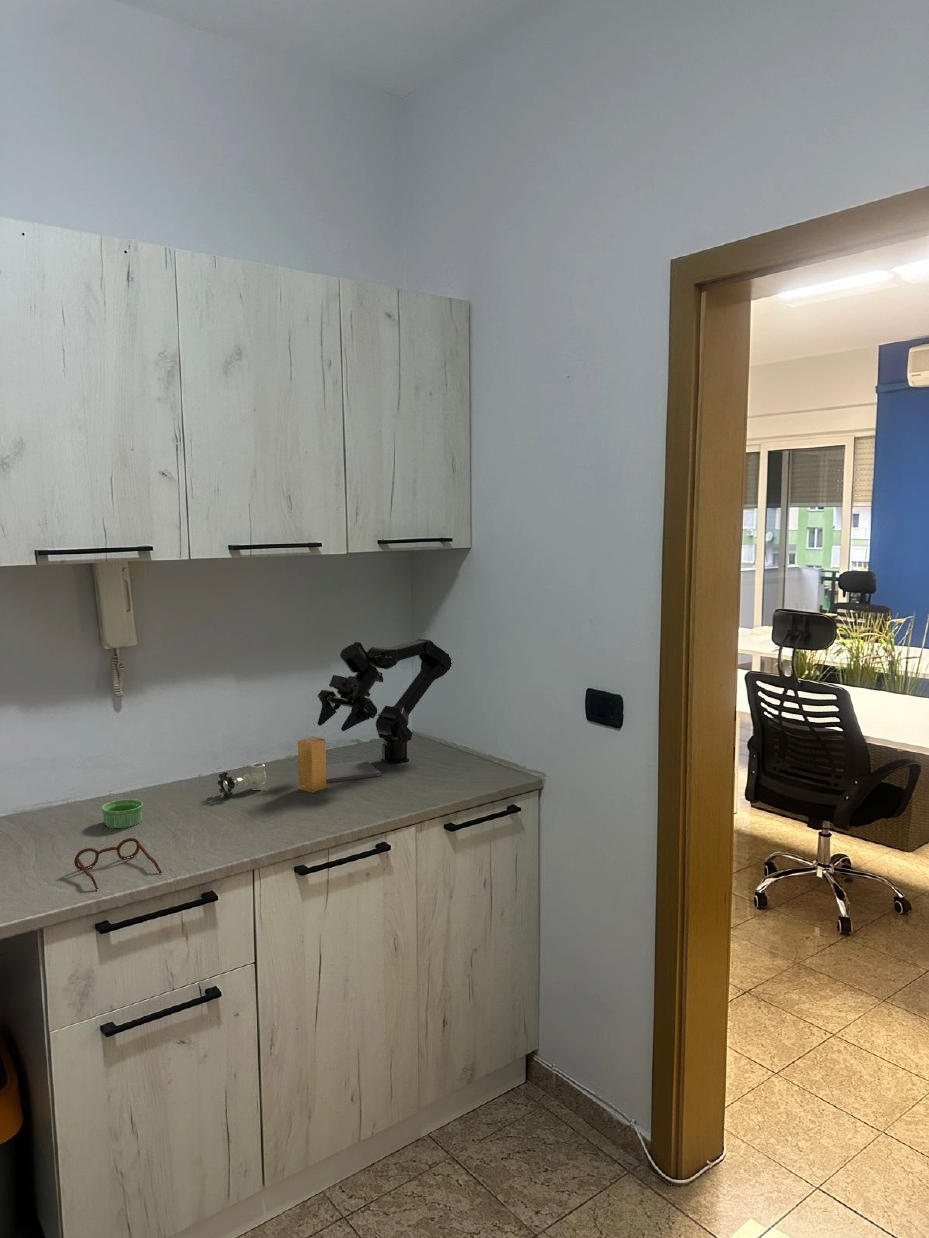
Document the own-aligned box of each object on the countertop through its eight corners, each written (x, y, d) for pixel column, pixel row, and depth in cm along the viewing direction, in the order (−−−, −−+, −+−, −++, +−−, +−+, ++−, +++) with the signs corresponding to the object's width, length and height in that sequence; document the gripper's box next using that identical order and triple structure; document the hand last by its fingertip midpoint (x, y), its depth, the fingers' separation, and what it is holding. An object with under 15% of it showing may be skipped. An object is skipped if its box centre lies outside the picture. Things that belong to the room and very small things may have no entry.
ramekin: (98, 831, 202) (98, 812, 202) (106, 818, 211) (105, 800, 210) (140, 828, 204) (139, 810, 203) (146, 815, 213) (145, 797, 212)
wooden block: (312, 784, 237) (311, 736, 235) (326, 787, 234) (325, 739, 232) (298, 788, 233) (297, 740, 231) (312, 792, 230) (311, 743, 228)
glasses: (138, 857, 188) (137, 834, 188) (163, 876, 179) (162, 852, 178) (74, 873, 180) (72, 849, 179) (96, 894, 170) (94, 869, 169)
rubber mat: (365, 763, 256) (365, 760, 256) (381, 775, 244) (381, 772, 244) (311, 770, 249) (311, 766, 249) (324, 783, 238) (324, 779, 238)
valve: (258, 784, 237) (217, 794, 228) (258, 760, 236) (217, 769, 228) (272, 790, 232) (231, 800, 224) (271, 765, 231) (230, 775, 223)
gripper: (324, 660, 248) (291, 703, 240) (371, 668, 236) (339, 713, 228) (343, 686, 254) (312, 729, 246) (391, 695, 243) (360, 740, 235)
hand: (330, 727), depth 239 cm, fingers open, 9 cm apart
